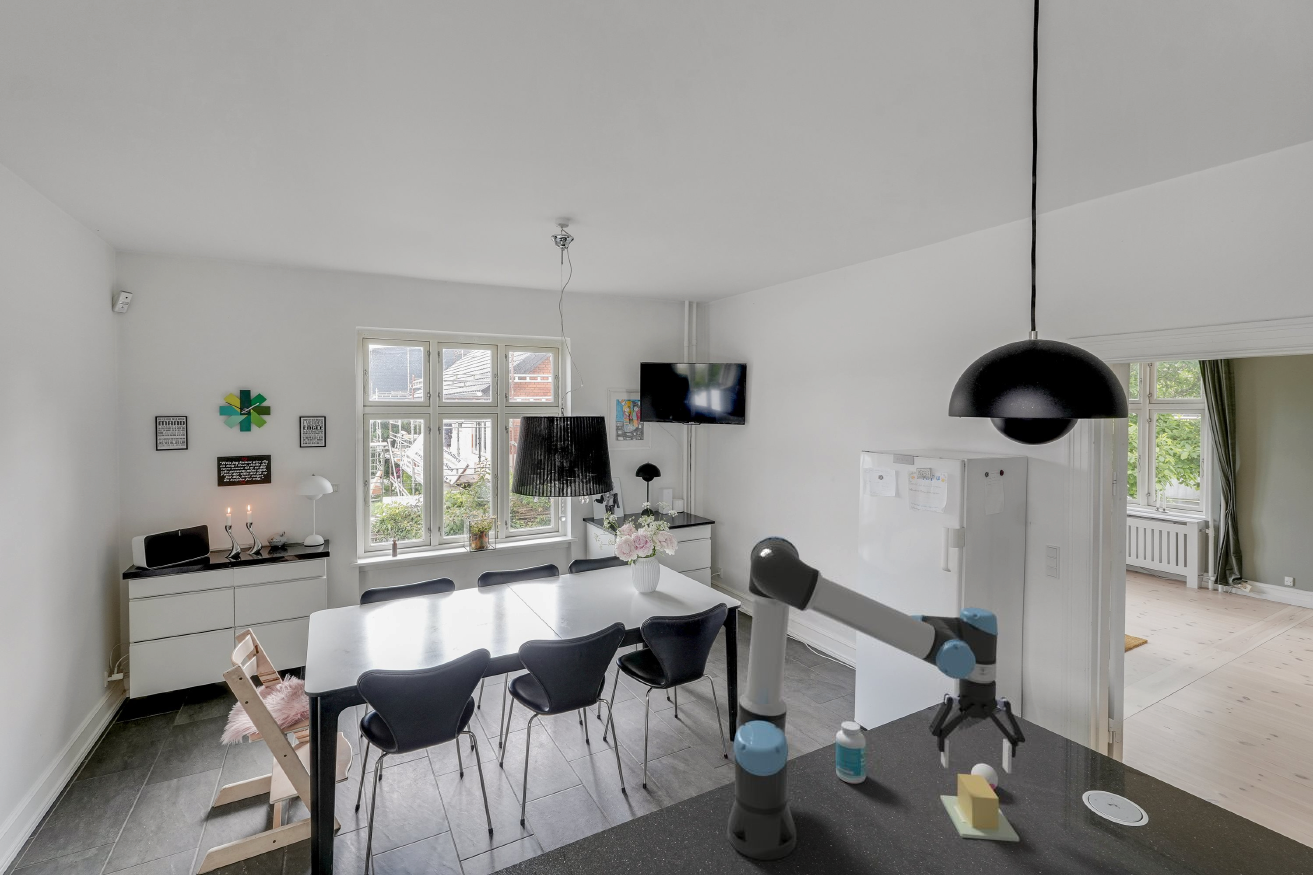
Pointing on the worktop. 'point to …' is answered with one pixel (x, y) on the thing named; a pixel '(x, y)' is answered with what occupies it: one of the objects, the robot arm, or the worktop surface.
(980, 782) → the tan yellow block
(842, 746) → the pill bottle
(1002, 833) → the board
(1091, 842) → the worktop surface
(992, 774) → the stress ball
